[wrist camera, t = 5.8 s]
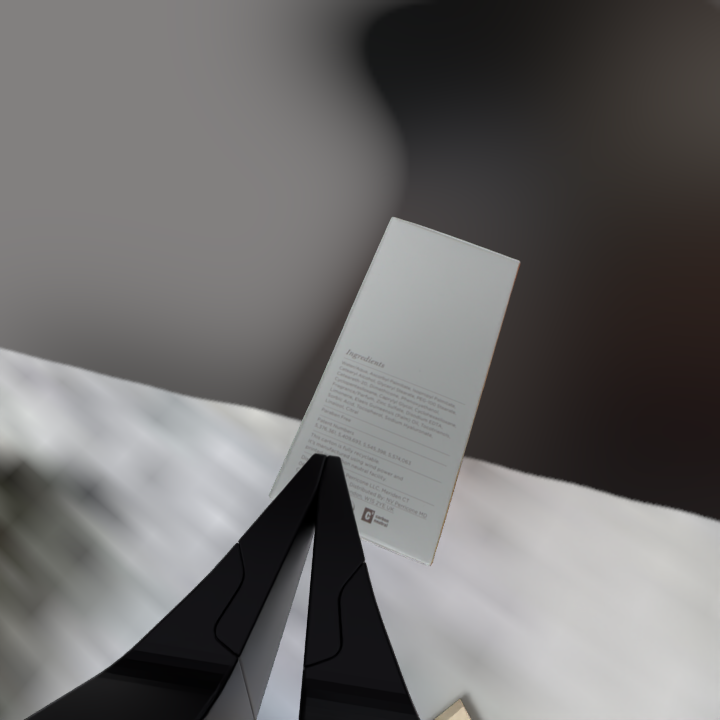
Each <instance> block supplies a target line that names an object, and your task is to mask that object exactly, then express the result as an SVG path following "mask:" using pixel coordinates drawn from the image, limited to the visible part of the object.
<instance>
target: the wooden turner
mask: <svg viewBox="0 0 720 720" xmlns="http://www.w3.org/2000/svg"><path fill="white" fill-rule="evenodd" d="M434 720H471V718H470V716H469V714H468V712H467V710H466V709H465V707H464V705H463V703H462V701H461V700H460V699H459V700H458V701H457V702H455V703H454V704H453V705H452V706H450V707H449V708H448V709H447V710H445V711H444V712H443V713H442V714H440V715H439V716H438V717H437V718H436V719H434Z"/></svg>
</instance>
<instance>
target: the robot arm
mask: <svg viewBox="0 0 720 720" xmlns="http://www.w3.org/2000/svg"><path fill="white" fill-rule="evenodd" d="M314 531H315V534H314ZM313 535H314V546H313V558H312V570H311V581H310V593H309V605H308V617H307V629H306V641H305V653H304V665H303V676H302V688H301V699H300V710H299V720H420V718H419V715H418V713H417V711H416V709H415V706H414V704H413V702H412V699H411V697H410V694H409V692H408V689H407V686H406V684H405V681H404V678H403V676H402V673H401V670H400V667H399V665H398V662H397V659H396V656H395V654H394V651H393V648H392V645H391V643H390V640H389V637H388V634H387V632H386V629H385V626H384V623H383V620H382V617H381V614H380V611H379V608H378V605H377V602H376V599H375V596H374V592H373V588H372V585H371V581H370V577H369V573H368V569H367V565H366V563H365V557H364V553H363V549H362V545H361V540H360V536H359V532H358V528H357V524H356V519H355V515H354V511H353V507H352V503H351V499H350V494H349V490H348V486H347V482H346V478H345V474H344V469H343V465H342V461H341V458H340V457H339V456H334V455H328V456H327V455H326V454H320V453H314V454H313V455H312V456H311V457H310V458H309V460H308V461H307V462H306V463H305V464H304V465H303V466H302V468H301V469H300V470H299V471H298V472H297V473H296V475H295V476H294V477H293V478H292V479H291V480H290V482H289V483H288V484H287V485H286V486H285V487H284V488H283V490H282V491H281V492H280V493H279V494H278V495H277V497H276V498H275V499H274V500H273V501H272V502H271V504H270V505H269V506H268V507H267V508H266V509H265V510H264V512H263V513H262V514H261V515H260V516H259V517H258V519H257V520H256V521H255V522H254V523H253V524H252V526H251V527H250V528H249V529H248V530H247V531H246V532H245V534H244V535H243V536H242V537H241V538H240V539H239V541H238V542H239V543H236V544H235V545H234V546H233V547H232V548H231V550H230V551H229V552H228V553H227V554H226V555H225V557H224V558H223V559H222V560H221V561H220V562H219V563H218V564H217V565H216V566H215V568H214V569H213V570H212V571H211V572H210V573H209V574H208V575H207V576H206V577H205V578H204V579H203V580H202V581H201V582H200V583H199V584H198V585H197V586H196V587H195V588H194V589H193V590H192V591H191V592H190V593H189V594H188V595H187V596H186V597H185V598H184V599H183V600H182V601H181V602H180V603H179V604H178V605H177V606H175V607H174V608H173V609H172V610H171V611H170V612H169V613H168V614H167V615H166V616H165V617H164V618H163V619H162V620H161V621H160V622H159V623H158V624H157V625H156V626H155V627H154V628H153V629H152V630H150V631H149V632H148V633H147V634H146V635H145V636H144V637H143V638H142V639H141V640H140V641H139V642H138V643H137V644H136V645H135V646H134V647H133V648H131V649H130V650H129V651H128V652H127V653H126V654H125V655H123V656H122V657H121V658H120V659H118V660H117V661H116V662H115V663H113V664H112V665H111V666H109V667H108V668H106V669H105V670H104V671H102V672H101V673H99V674H98V675H96V676H95V677H93V678H91V679H90V680H88V681H86V682H85V683H83V684H82V685H80V686H78V687H77V688H75V689H73V690H72V691H70V692H68V693H67V694H65V695H64V696H62V697H60V698H59V699H57V700H55V701H54V702H52V703H50V704H49V705H47V706H46V707H44V708H42V709H41V710H39V711H37V712H36V713H34V714H33V715H31V716H29V717H28V718H26V719H24V720H256V719H257V715H258V712H259V709H260V706H261V702H262V699H263V696H264V693H265V690H266V686H267V683H268V680H269V677H270V674H271V670H272V667H273V664H274V661H275V657H276V654H277V651H278V648H279V645H280V641H281V638H282V635H283V632H284V628H285V625H286V622H287V619H288V616H289V612H290V609H291V606H292V603H293V599H294V596H295V593H296V590H297V587H298V583H299V580H300V577H301V574H302V571H303V567H304V564H305V561H306V558H307V554H308V551H309V548H310V545H311V542H312V538H313Z"/></svg>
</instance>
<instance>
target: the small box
mask: <svg viewBox="0 0 720 720" xmlns="http://www.w3.org/2000/svg"><path fill="white" fill-rule="evenodd" d="M519 267H520V261H518V260H516V259H513V258H510V257H507V256H505V255H502V254H499V253H497V252H494V251H491V250H489V249H486V248H483V247H480V246H477V245H474V244H472V243H469V242H466V241H464V240H461V239H458V238H455V237H452V236H450V235H446V234H444V233H441V232H438V231H435V230H432V229H430V228H426V227H424V226H421V225H418V224H415V223H411V222H408V221H405V220H401V219H398V218H395V217H392V218H391V220H390V222H389V224H388V227H387V229H386V231H385V234H384V236H383V238H382V240H381V243H380V245H379V247H378V249H377V251H376V254H375V256H374V259H373V261H372V263H371V265H370V267H369V270H368V272H367V274H366V277H365V279H364V281H363V284H362V286H361V288H360V290H359V292H358V295H357V297H356V299H355V301H354V304H353V306H352V308H351V311H350V313H349V315H348V318H347V320H346V322H345V325H344V327H343V329H342V332H341V334H340V337H339V339H338V341H337V344H336V346H335V348H334V351H333V353H332V355H331V357H330V360H329V362H328V364H327V367H326V369H325V371H324V374H323V376H322V378H321V381H320V383H319V385H318V387H317V390H316V392H315V394H314V397H313V399H312V401H311V403H310V405H309V407H308V409H307V412H306V414H305V416H304V418H303V420H302V422H301V425H300V427H299V429H298V431H297V433H296V436H295V438H294V440H293V442H292V445H291V447H290V449H289V451H288V454H287V456H286V458H285V460H284V462H283V465H282V467H281V469H280V472H279V474H278V476H277V478H276V480H275V482H274V485H273V487H272V489H271V491H270V494H269V497H270V498H271V499H272V500H274V499H275V498H276V497H277V495H278V494H279V493H280V492H281V491H282V490H283V488H284V487H285V486H286V485H287V484H288V483H289V482H290V480H291V479H292V478H293V477H294V476H295V475H296V473H297V472H298V471H299V470H300V469H301V468H302V466H303V465H304V464H305V463H306V462H307V461H308V460H309V458H310V457H311V456H312V455H313V454H314V453H320V454H326V455H327V456H328V455H334V456H339V457H340V458H341V461H342V465H343V469H344V474H345V478H346V482H347V486H348V490H349V494H350V499H351V503H352V507H353V511H354V515H355V519H356V524H357V528H358V532H359V536H360V539H362V540H365V541H367V542H369V543H371V544H374V545H376V546H379V547H381V548H384V549H386V550H389V551H392V552H394V553H397V554H399V555H402V556H404V557H406V558H409V559H411V560H414V561H417V562H419V563H422V564H424V565H428V566H431V564H432V563H433V559H434V556H435V552H436V549H437V546H438V543H439V539H440V536H441V533H442V529H443V526H444V523H445V519H446V516H447V512H448V509H449V505H450V502H451V498H452V495H453V492H454V488H455V485H456V481H457V477H458V474H459V470H460V466H461V463H462V459H463V456H464V452H465V449H466V445H467V442H468V439H469V435H470V432H471V429H472V425H473V422H474V419H475V415H476V412H477V408H478V405H479V402H480V399H481V395H482V392H483V389H484V385H485V382H486V379H487V375H488V371H489V368H490V364H491V361H492V357H493V354H494V350H495V347H496V343H497V340H498V337H499V333H500V330H501V326H502V323H503V320H504V316H505V313H506V310H507V306H508V303H509V299H510V296H511V292H512V289H513V286H514V283H515V280H516V277H517V273H518V270H519Z"/></svg>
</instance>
